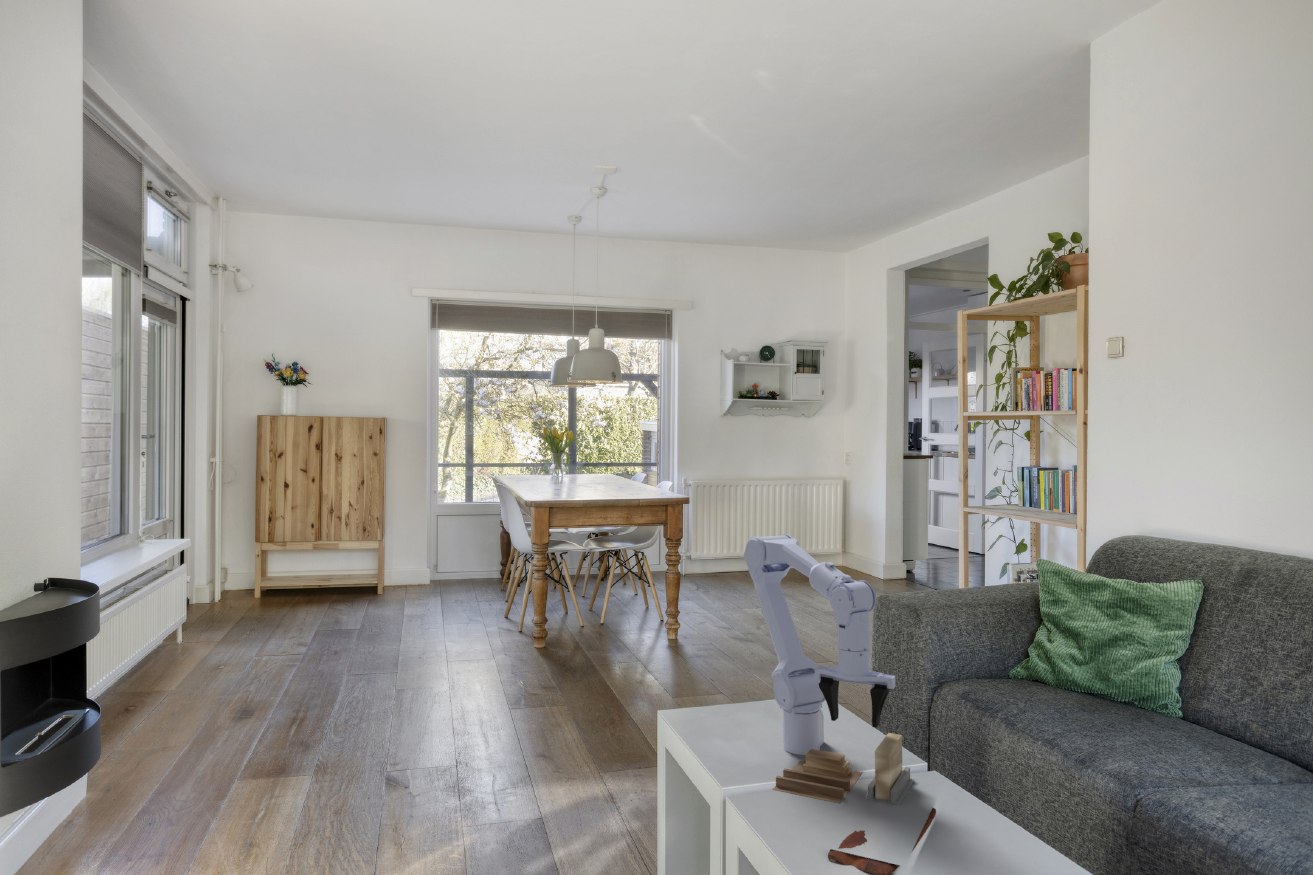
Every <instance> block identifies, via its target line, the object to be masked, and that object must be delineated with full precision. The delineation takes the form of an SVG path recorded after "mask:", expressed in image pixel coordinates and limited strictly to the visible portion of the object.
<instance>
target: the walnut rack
mask: <svg viewBox="0 0 1313 875" xmlns="http://www.w3.org/2000/svg"><path fill="white" fill-rule="evenodd" d="M805 762H806V760H805V761H804V760H799V761H798V762H797V763H796V765H795V766H794V767H793V768H792V769H789V768H784V769H782V773H783V775H782V776H781V775H776V777H775V786H774V787H773V788H772V790H773V791H778V792H780V793H781V792H782V793H788V794H792V795H796V796H797V795H798V796H803V797H806V798H810V799H811V798H812V799H816V800H822V801H825V802H830V803H836V804H841V803H842V801H843V800H844V799H845V798H846V796H847V794H848V793H850V791H851V789H852V788H853V786H854V785H855V784H856V782H857V781H858V780H859V778H860V777H861V776H862V774H863V771H858V770H854V769H851V772H850V774H849V775H848V776H847V777H846V779H844V778H839V777H834V776H828V775H823V774H818V773H812V772H807V771H803V765H804V763H805Z"/></svg>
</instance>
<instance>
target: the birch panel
mask: <svg viewBox="0 0 1313 875" xmlns="http://www.w3.org/2000/svg"><path fill="white" fill-rule="evenodd" d="M902 772H903V735H902V734H899V733H897V734H896V733H891V732H888V733H887V734H886V735H885V736H884V738H882V740H881V742H880V743H879V744H878V746H877V747H876V748H875V750H874V774H875V775H874V777H875V795H876V798H878V799H883V800H888V801H890V791H891V789H892V788H893V786H894V784H895V783H896V781H897V780H898V778H899V776H900V775H901V773H902Z"/></svg>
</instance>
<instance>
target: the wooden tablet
mask: <svg viewBox="0 0 1313 875" xmlns="http://www.w3.org/2000/svg"><path fill="white" fill-rule="evenodd" d="M936 815H937V809H936V808H935V807H932V808H931V811H930V812H929V814H928V815H927V818H926V820H925V823H924V825H923V827H922V829H921V831H920V833H919V835H918V838H917V839H916V842H915V844H914V845H913V848H912V850H911V852H913V851H914V850H915V848H916V847H917V845H918V844H919V842H920V841H921V840H922V838H923V836H924V835H925V834H926V832H927V830H928V829H929V827H930V826H931V825H932V823H933V820H935V817H936ZM865 836H866V830H861V829H860V830H858V831H857V830H853V832H852V833H850V834H848V835H847V836H846V837H845V838H844V839H843V840H842V842H840V844H839V845H838V846H839V847H837V849H838V850H836V849H833V848H830V849H829V851H828V854H827V859H828V861H830V862H831V863H834V864H835V863H836V864H840V865H843V866H853V867H855V869H857V870H859V871H860V872H863V873H865V874H868V875H892V874H893V873H894V872H895V871H896V870H898V869H899V867H900V866H901V865H900V864H897V863H896V864H895V863H893V862H892V863H891V862H886V861H884V860H883V861H882V860H878V859H876V858H870V857H867V856H863V855H862V856H861V855H857V854H853V853H849V852H844V851H840V850H839V849H841V850H842V849H853V848H856V847H857V846H858V847H861V846H862V845H865V844H866V843H868V839H867V837H865Z"/></svg>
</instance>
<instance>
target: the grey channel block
mask: <svg viewBox="0 0 1313 875" xmlns="http://www.w3.org/2000/svg"><path fill="white" fill-rule="evenodd" d="M902 771H903V772H902V773H901V775H900V776H899V778H898V780H897V781H896V783H895V784H894V786H893V788H892V789H891V791H890V801H888V800H883V799H878V798H876V795H875V776H874V777H873V779H872V780H871V782H870V783H869V784H868V785H867V793H865V796H864V797H863V799H866V800H871V801H876V802H881V803H882V802H883V803H886V804H892V805H897V806H900V805H901V803H902V802H903V801H904V798H906V797H905V796H906V795H907V794H908V791H909V789H910V788H911V786H912V785H913V783H914V781H915V779H914V778H911V767H910V766H905V767H904V768H903V769H902Z"/></svg>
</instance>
